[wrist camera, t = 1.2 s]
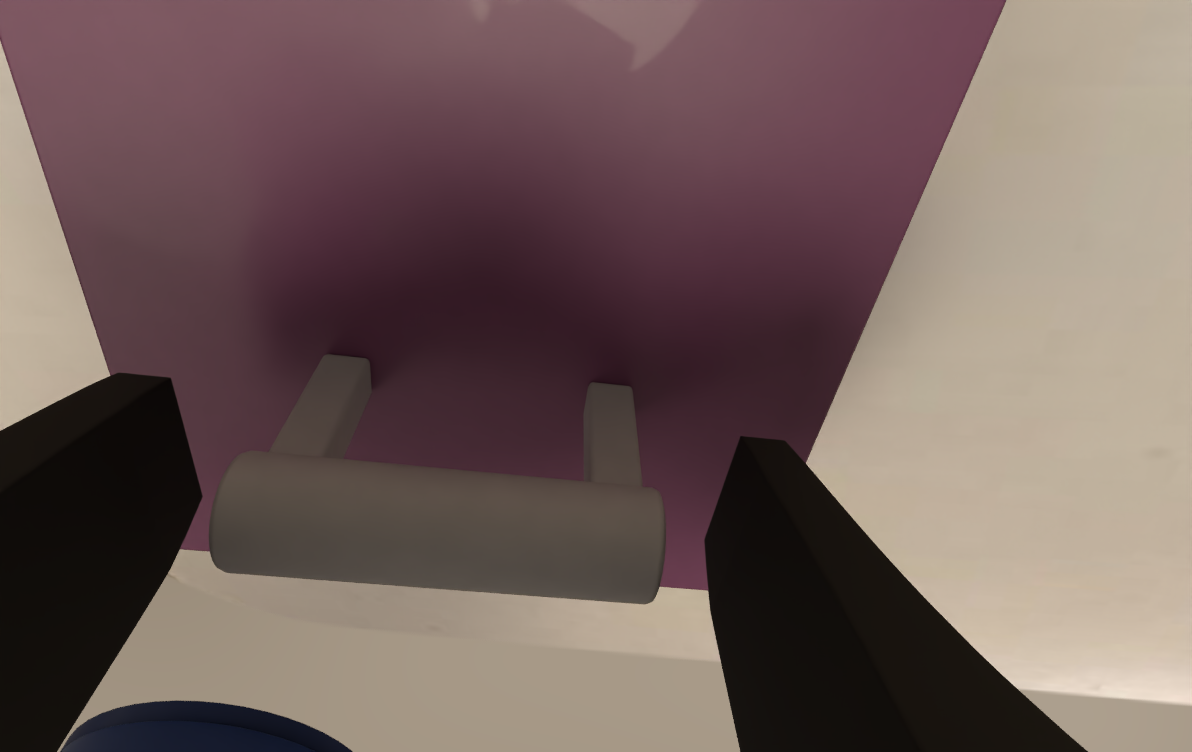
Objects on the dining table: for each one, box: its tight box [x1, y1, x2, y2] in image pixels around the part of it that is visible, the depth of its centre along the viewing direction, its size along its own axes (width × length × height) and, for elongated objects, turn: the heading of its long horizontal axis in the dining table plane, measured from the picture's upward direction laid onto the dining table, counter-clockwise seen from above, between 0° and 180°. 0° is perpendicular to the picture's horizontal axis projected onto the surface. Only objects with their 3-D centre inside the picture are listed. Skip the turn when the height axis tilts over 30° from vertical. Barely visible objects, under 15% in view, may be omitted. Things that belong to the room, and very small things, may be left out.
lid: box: [0, 0, 1006, 604], centre depth 8 cm, size 13×11×4 cm
